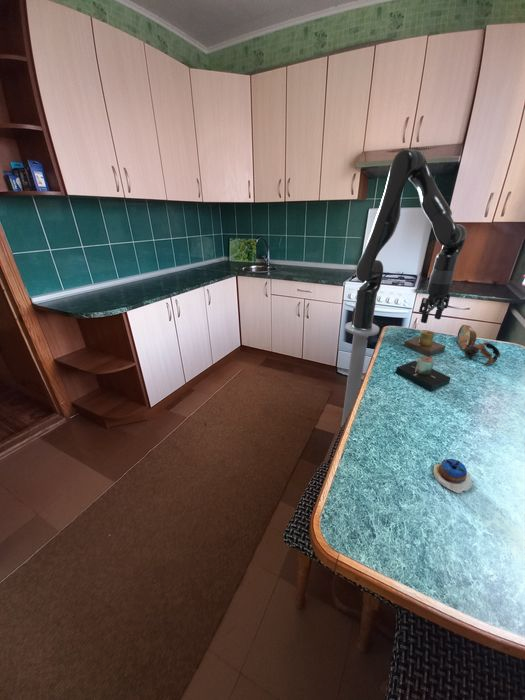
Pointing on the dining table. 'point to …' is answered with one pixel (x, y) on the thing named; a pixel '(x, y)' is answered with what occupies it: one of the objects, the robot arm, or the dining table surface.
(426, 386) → the control box
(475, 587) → the dining table surface
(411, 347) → the walnut box
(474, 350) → the brown black curved band
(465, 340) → the tin
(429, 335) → the dial
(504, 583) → the dining table surface
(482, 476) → the dining table surface
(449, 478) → the dessert
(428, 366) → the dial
